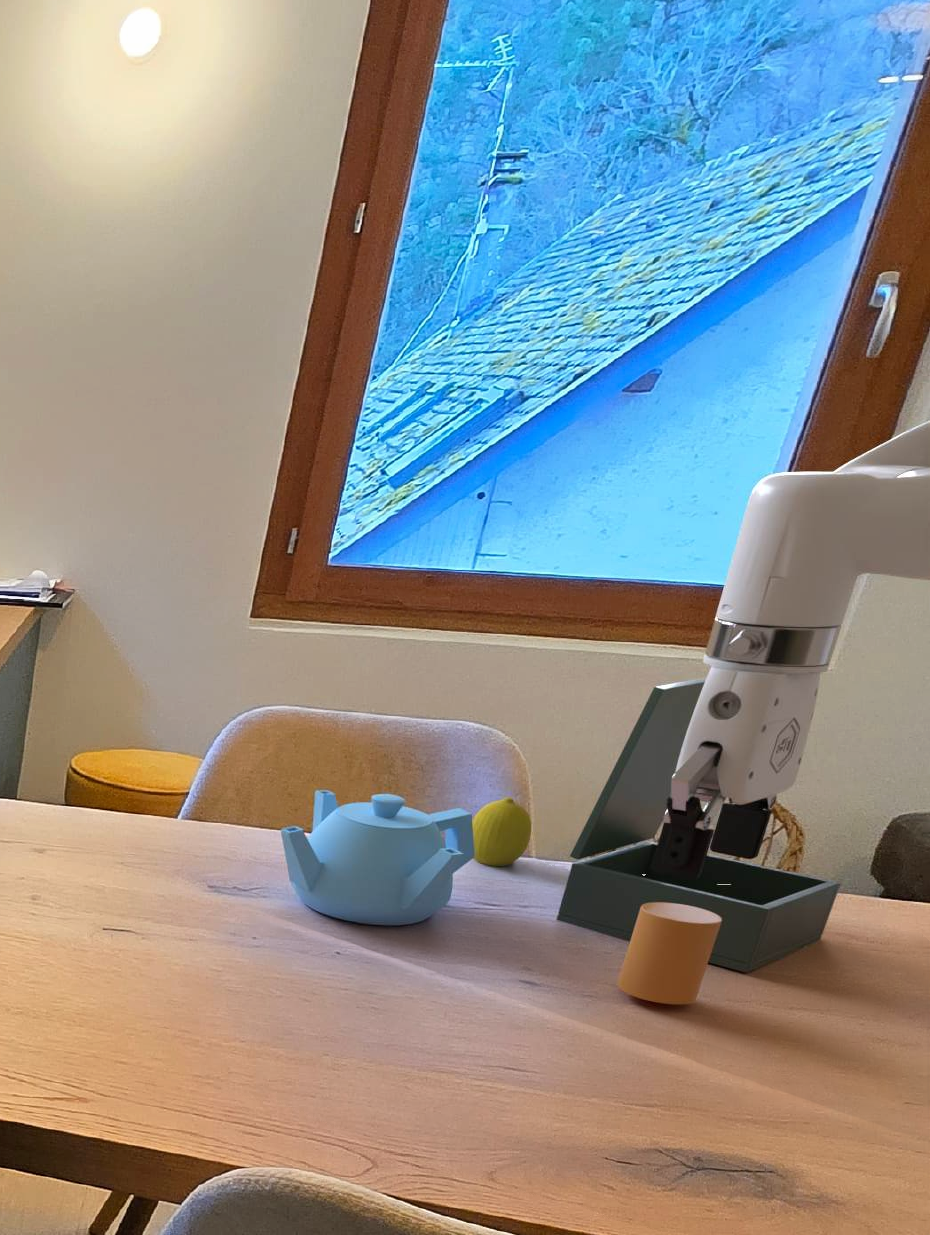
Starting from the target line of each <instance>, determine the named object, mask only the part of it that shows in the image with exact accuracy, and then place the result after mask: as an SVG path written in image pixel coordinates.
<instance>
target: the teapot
mask: <svg viewBox="0 0 930 1235" xmlns="http://www.w3.org/2000/svg"><path fill="white" fill-rule="evenodd" d="M405 802H406V799H405V798H403V797H402V796H399V795H396V794H391V793H378V794H373V795H371V801H365V802H362V801H360V802H350V803H345V804H343V805H341V806H339V804H338V800H337V799H336V793H335V792H332V791H330V790H327V789H325V790H323V789H322V790H315V793H314V805H313V820H312V831H311V833H310V834H309V835H308V836H306V834H305V829H304V828H301V827H299V826H297V825H293V826H287V827H284V828H280V834H281V840H282V845H283V850H284V856H285V861H286V867H287V872H288V877H289V881H290V885H291V886H292V888H293V889H294V892H296V894H297V895H298V897H299V898H300V899H301V901H302V903H304V904H305V905H306V906H307V907H309V908H311V909H313V911H316V912H319V913H321V914H324V915H326V916H329V917H332V918H335V919H339V920H343V921H348V922H352V923H358V924H363V925H373V926H374V925H375V926H404V925H405V926H406V925H413V924H418V923H420V922H423V921H425V920H427V919H428V918H430V917H432V916H434V915H435V914H436V913H438V912H439V911H441V910H442V909H443V908H445V906H447V904H448V903H449V901H450V900H451V897H452V892H453V884H454V880H453V879H454V876H453V874H455V873H456V872H457V871H458V870H459V869H460V870H461V868H463V867H464V866H465V865H467V863H469V862H470V861H471V860H474V857H475V851H474V839H473V826H472V821H473V816H472V812H471V813H470V812H469V811H467V810H465V809H463V808H461V807H456V808H451V809H447V810H443V811H437V812H434V813H428V814H427V813H425V812H423V811H421V810H418V809H415V808H412V807H410V806H409V807H408V806H404V804H405ZM443 831H445V836H444V837H445V840H444V838H443V835H442V833H441V832H443Z"/></svg>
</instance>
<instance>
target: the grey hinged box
mask: <svg viewBox="0 0 930 1235" xmlns="http://www.w3.org/2000/svg"><path fill="white" fill-rule="evenodd" d="M657 845H658V842H656V841H655V842H654V841H648V840H647V841H644V842H642V843H641V842H640V843H637V844H633V845H630V846H626V847H623V848H619V849H616V850H614V851H613V850H612V851H609V852H605V853H604V854H603V853H602V854H598V855H595V856H591V857H588V858H586V859H585V858H584V859H582V860H578V861H575V862H573V863H571V867H570V871H569V874H568V877H567V881H566V885H565V888H564V892H563V895H562V898H561V902H560V905H559V909H558V911H557V912H558V913H557V916H556V921H559V922H562V923H566V924H569V925H572V926H575V927H580V928H583V929H585V930H590V931H593V932H596V933H600V934H603V935H607V936H610V937H612V938H616V939H621V940H623V941H627V942H630V940H631V937H632V934H633V931H634V927H635V924H636V921H637V918H638V914H639V911H640V908H641V906H642V905H643V904H646V903H653V902H664V903H675V904H682V905H688V906H693V907H697V908H701V909H704V910H707V911H710V912H713V913H715V914H717V915H719V916H720V917H721V918H722V922H721V925H720V928H719V931H718V934H717V937H716V940H715V943H714V946H713V949H712V952H711V955H710V958H709V961H708V964H711V965H712V964H713V965H715V966H720V967H723V968H728V969H731V970H734V971H738V972H742V973H747V974H748V973H749V972H752V971H754V970H757V969H759V968H762V967H764V966H767V965H768V964H772V963H773V962H776V961H779V960H781V959H784V958H785V957H787V956H790V955H791V954H794V953H796V952H798V951H800V950H803V949H805V948H806V947H809V946H810V945H812V944H815V943H816V942H818V941H820V940H821V939H822V936H823V934H824V932H825V928H826V926H827V923H828V920H829V917H830V914H831V913H832V912H831V911H832V909H833V906H834V904H835V901H836V898H837V896H838V892H839V890H840V887H841V884H842V883H841V882H840V881H834V880H832V879H831V880H830V879H825V878H822V877H817V876H812V875H807V874H803V873H798V872H795V871H794V872H793V871H789V870H784V869H779V868H774V867H772V866H771V867H770V866H766V865H761V864H756V863H752V862H747V861H743V860H738V859H733V858H730V857H729V858H728V857H724V856H719V855H715V854H710V853H707V856H706V859H705V862H704V866H703V869H702V872H701V875H700V877H699V878H697V879H694V880H690V879H685V878H681V877H676V876H672V875H667V874H663V873H658V872H654V871H653V870H652V868H651V867H652V863H653V859H654V856H655V852H656V849H657ZM642 874H646V875H645V876H643V875H642ZM717 884H731V885H717Z"/></svg>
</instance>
